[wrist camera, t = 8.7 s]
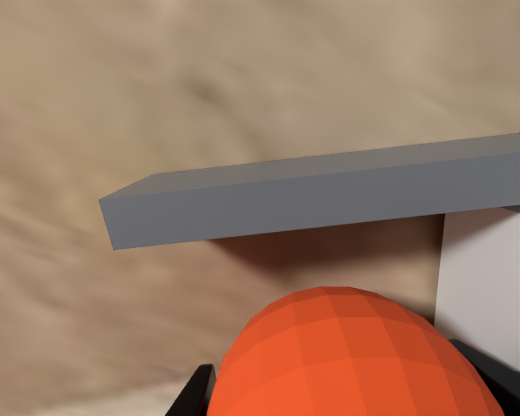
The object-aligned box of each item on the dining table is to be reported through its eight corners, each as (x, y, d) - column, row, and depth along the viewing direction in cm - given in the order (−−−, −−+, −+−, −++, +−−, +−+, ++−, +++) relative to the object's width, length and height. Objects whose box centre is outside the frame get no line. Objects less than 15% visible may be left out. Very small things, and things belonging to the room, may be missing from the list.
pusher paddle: (483, 186, 9) (659, 230, 5) (454, 390, 12) (554, 520, 8) (448, 190, 9) (596, 237, 5) (426, 393, 12) (513, 525, 8)
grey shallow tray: (634, 120, 9) (998, 112, 4) (553, 398, 12) (709, 539, 8) (152, 174, 9) (59, 217, 5) (212, 435, 12) (191, 594, 8)
